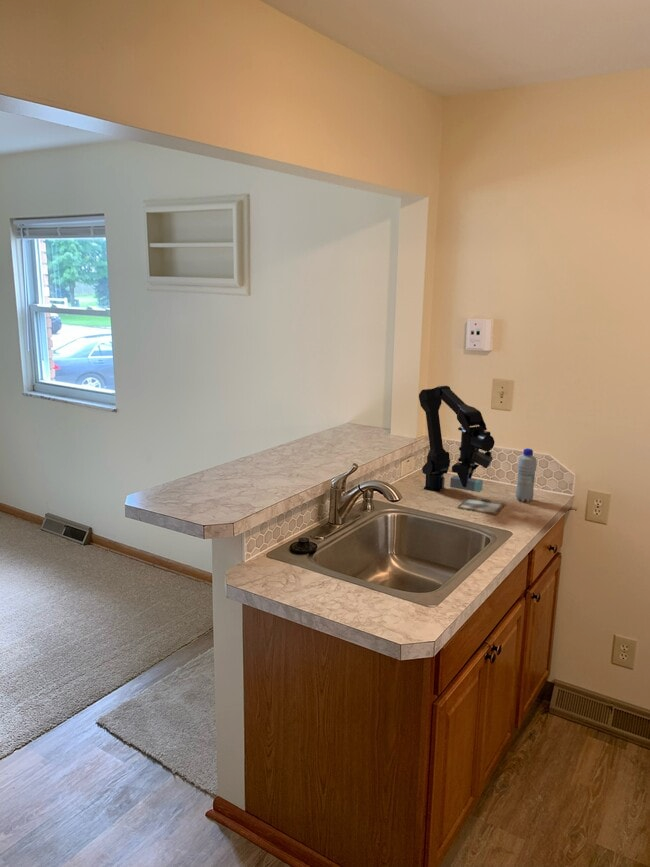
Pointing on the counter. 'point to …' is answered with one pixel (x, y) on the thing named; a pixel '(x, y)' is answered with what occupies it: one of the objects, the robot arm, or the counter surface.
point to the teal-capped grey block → (471, 484)
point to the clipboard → (481, 505)
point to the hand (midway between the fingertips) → (466, 485)
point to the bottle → (526, 476)
